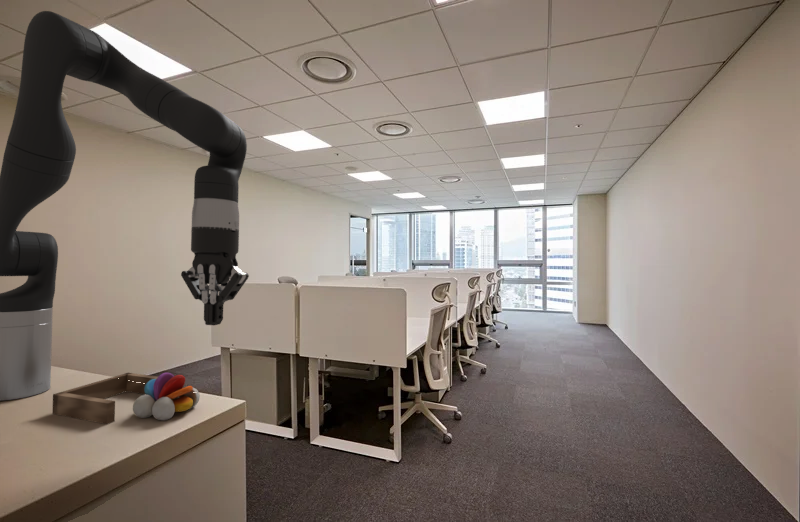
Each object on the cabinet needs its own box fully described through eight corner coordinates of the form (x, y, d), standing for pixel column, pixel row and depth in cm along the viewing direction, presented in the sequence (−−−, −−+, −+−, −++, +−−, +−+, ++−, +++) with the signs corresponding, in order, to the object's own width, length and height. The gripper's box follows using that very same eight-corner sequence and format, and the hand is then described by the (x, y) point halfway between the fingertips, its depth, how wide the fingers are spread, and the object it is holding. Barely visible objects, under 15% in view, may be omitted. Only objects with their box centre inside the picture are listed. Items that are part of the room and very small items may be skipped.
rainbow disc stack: (170, 425, 61) (171, 383, 61) (123, 419, 63) (124, 378, 63) (206, 406, 70) (207, 369, 70) (164, 401, 72) (165, 365, 72)
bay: (52, 413, 65) (53, 394, 65) (127, 388, 78) (128, 372, 78) (107, 424, 61) (107, 403, 61) (176, 396, 74) (176, 379, 74)
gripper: (167, 225, 62) (164, 325, 62) (232, 224, 59) (229, 331, 58) (202, 229, 69) (199, 319, 69) (261, 228, 66) (259, 323, 66)
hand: (213, 324), depth 64 cm, fingers closed
